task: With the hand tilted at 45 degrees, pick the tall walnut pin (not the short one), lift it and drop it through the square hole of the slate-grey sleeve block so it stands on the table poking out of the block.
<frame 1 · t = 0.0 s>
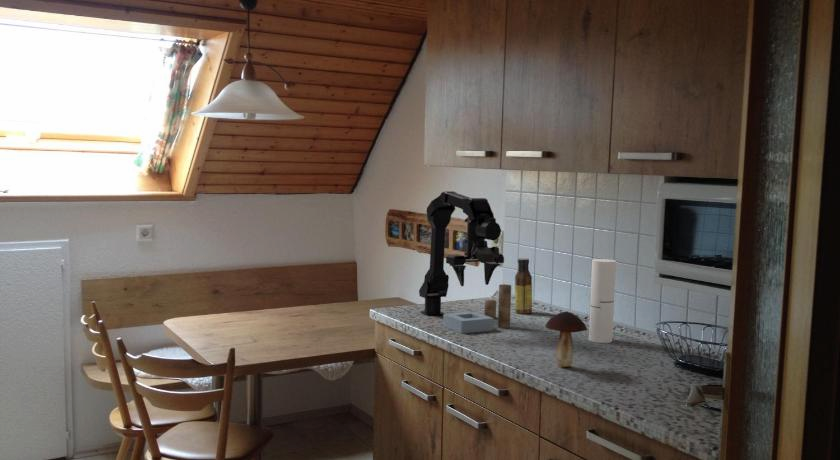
hand: (474, 285, 245), 15 cm above the worktop, tool pointing down, fingers open, 9 cm apart
sleeve block: (468, 328, 249), on the worktop
tall walnut pin: (503, 327, 252), on the worktop
sauce bottle: (522, 313, 277), on the worktop
short walnut pin: (490, 317, 267), on the worktop
decorative mushroom: (564, 367, 204), on the worktop
cylindrical container: (600, 340, 236), on the worktop
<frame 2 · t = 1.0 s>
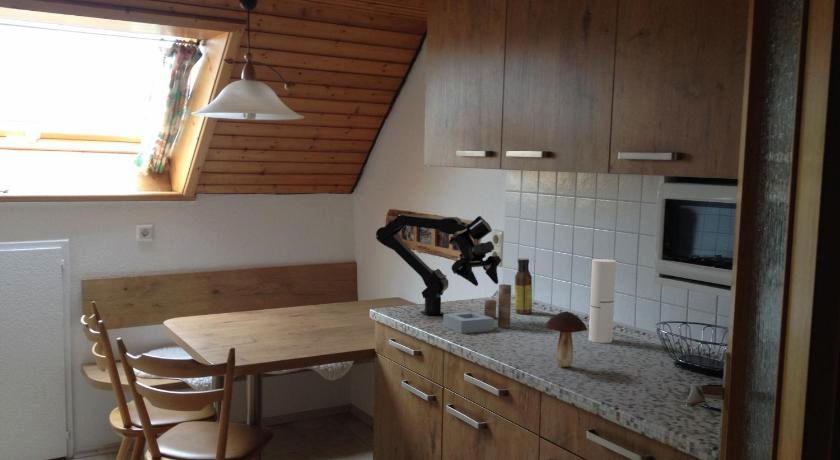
hand: (487, 284, 257), 13 cm above the worktop, tool tilted 45°, fingers open, 9 cm apart
nothing on the worktop moved.
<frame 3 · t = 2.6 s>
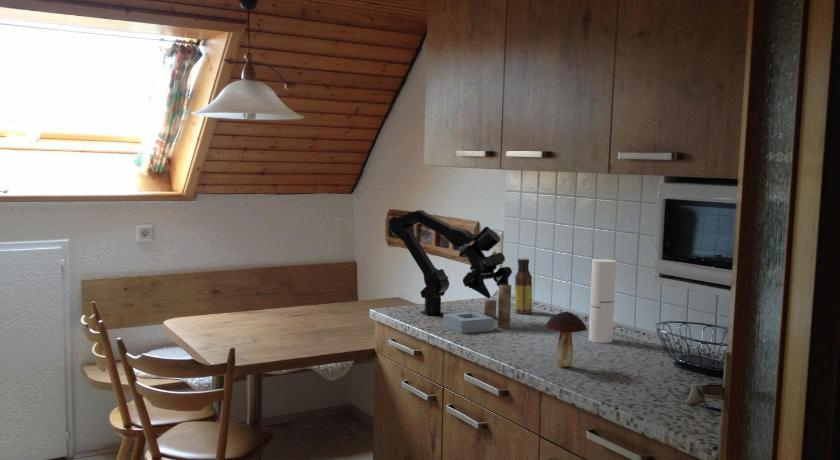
hand: (499, 296, 253), 10 cm above the worktop, tool tilted 45°, fingers open, 9 cm apart
nothing on the worktop moved.
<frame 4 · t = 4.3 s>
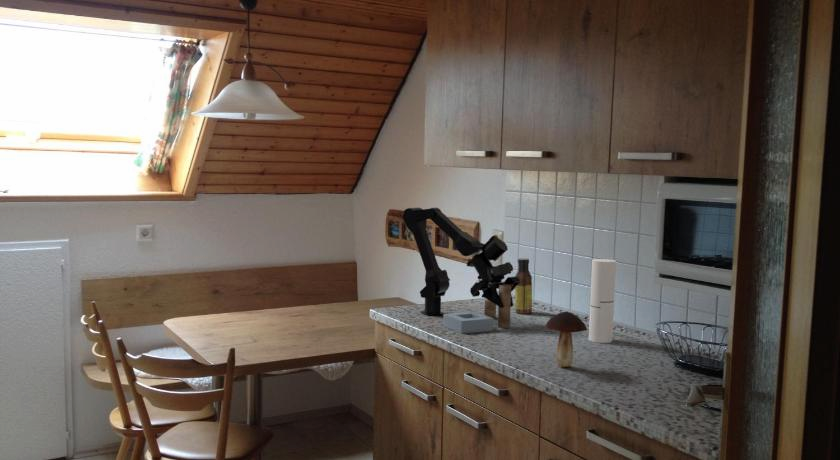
hand: (507, 306, 250), 7 cm above the worktop, tool tilted 45°, fingers closed on tall walnut pin, 4 cm apart
tall walnut pin: (503, 327, 252), on the worktop, touching gripper
everything else where it was.
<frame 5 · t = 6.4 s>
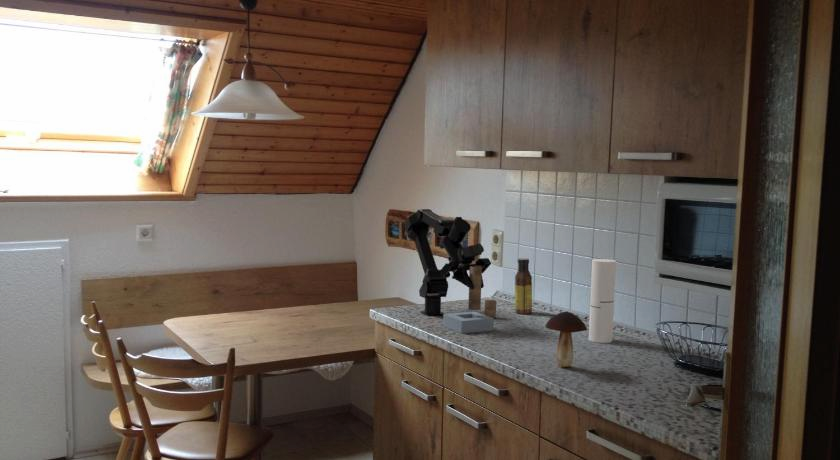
hand: (478, 288, 248), 13 cm above the worktop, tool tilted 45°, fingers closed on tall walnut pin, 4 cm apart
tall walnut pin: (474, 308, 249), point 6 cm above the worktop, touching gripper
everything else where it was.
when the fingers open (8 cm above the worktop, at t = 8.5 s): tall walnut pin stays where it is, resting in sleeve block.
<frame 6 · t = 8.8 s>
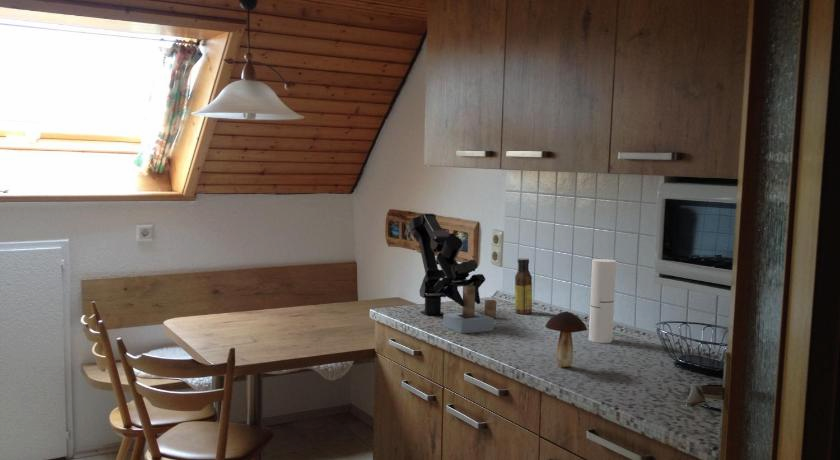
hand: (471, 304, 247), 8 cm above the worktop, tool tilted 45°, fingers open, 7 cm apart
tall walnut pin: (467, 328, 249), resting in sleeve block
everything else where it was.
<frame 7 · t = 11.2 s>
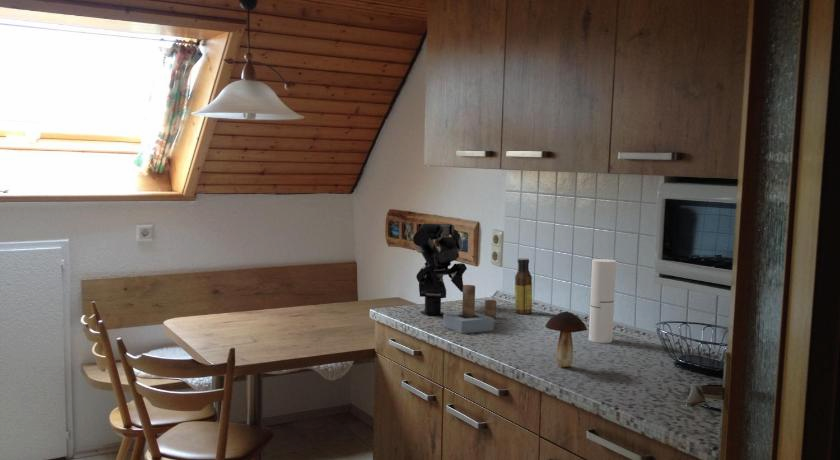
hand: (452, 292, 255), 11 cm above the worktop, tool tilted 45°, fingers open, 9 cm apart
nothing on the worktop moved.
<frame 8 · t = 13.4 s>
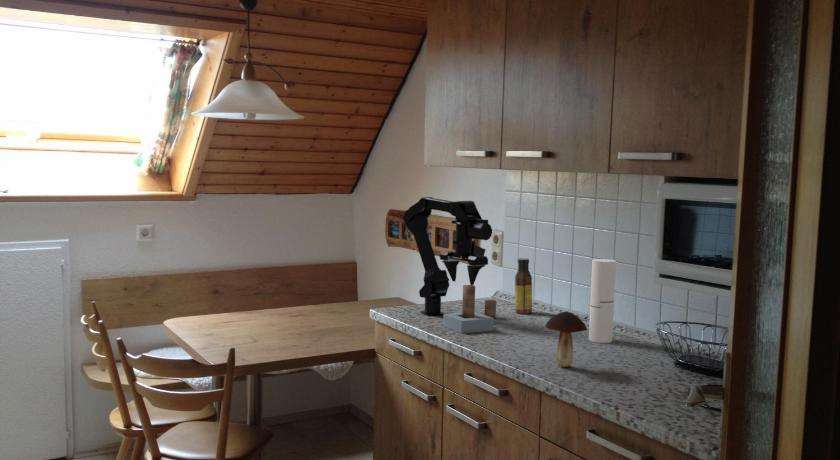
hand: (462, 283, 260), 13 cm above the worktop, tool pointing down, fingers open, 9 cm apart
nothing on the worktop moved.
at the end: tall walnut pin 0.0 cm off-centre on the sleeve block, point 0.0 cm above the sleeve block's base; tall walnut pin tilted 0°; short walnut pin moved 0.0 cm from its start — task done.
